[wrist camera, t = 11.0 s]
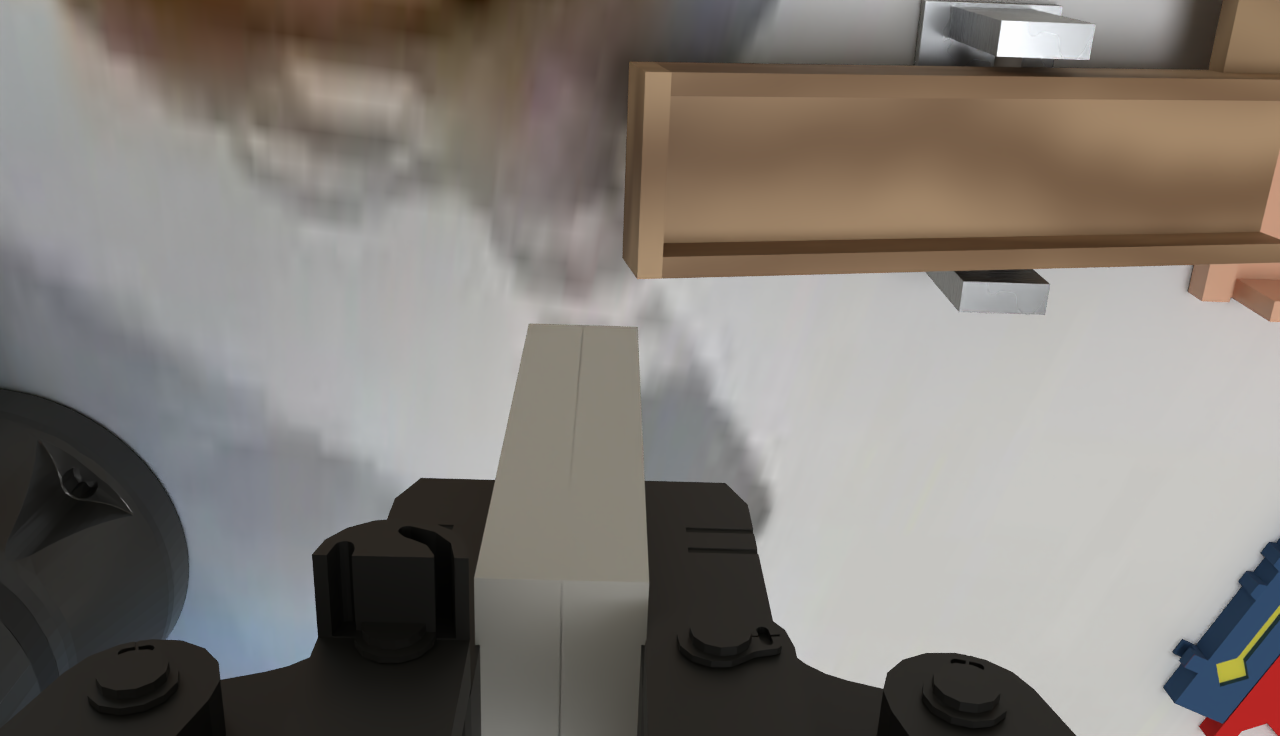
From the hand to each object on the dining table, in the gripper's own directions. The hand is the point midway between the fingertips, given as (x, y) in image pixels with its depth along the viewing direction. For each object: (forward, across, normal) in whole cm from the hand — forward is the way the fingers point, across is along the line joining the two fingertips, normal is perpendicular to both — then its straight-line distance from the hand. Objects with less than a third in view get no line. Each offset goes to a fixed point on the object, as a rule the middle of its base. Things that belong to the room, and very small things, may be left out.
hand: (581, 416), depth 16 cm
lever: (+26, -12, -3) cm, 29 cm away
